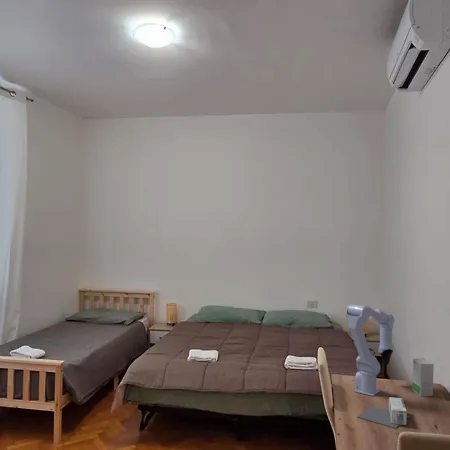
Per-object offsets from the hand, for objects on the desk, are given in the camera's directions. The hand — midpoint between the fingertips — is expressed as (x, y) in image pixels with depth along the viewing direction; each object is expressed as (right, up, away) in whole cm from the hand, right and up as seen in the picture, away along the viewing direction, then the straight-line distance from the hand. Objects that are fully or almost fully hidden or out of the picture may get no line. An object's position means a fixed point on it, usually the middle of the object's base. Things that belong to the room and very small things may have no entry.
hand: (386, 364), depth 229 cm
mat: (-15, -10, -39) cm, 43 cm away
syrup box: (-8, -7, -33) cm, 35 cm away
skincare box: (+13, -11, -11) cm, 21 cm away
